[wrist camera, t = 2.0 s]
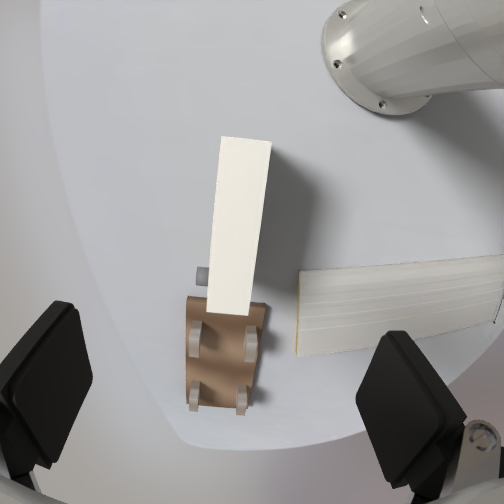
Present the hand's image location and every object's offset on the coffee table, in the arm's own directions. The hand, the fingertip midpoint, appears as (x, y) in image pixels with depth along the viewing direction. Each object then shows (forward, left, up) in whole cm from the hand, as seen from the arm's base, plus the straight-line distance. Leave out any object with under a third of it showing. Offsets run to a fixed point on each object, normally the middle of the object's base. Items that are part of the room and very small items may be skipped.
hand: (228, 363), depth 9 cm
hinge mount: (+18, 0, -21) cm, 27 cm away
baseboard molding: (+8, +23, -22) cm, 33 cm away
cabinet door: (0, 0, -21) cm, 21 cm away
